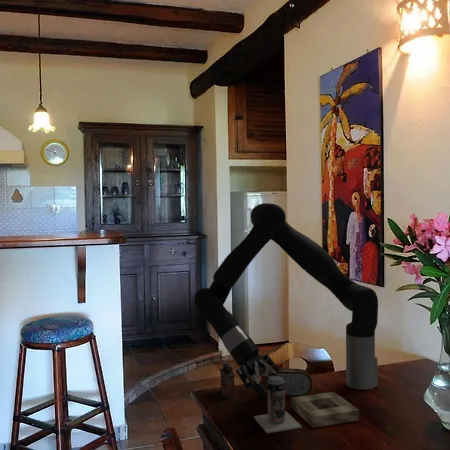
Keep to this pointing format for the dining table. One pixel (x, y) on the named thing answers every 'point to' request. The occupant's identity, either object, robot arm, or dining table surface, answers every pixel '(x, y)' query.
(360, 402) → the dining table surface
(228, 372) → the lighter
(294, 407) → the socket block
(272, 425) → the pad
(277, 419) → the beer can
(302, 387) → the tin
